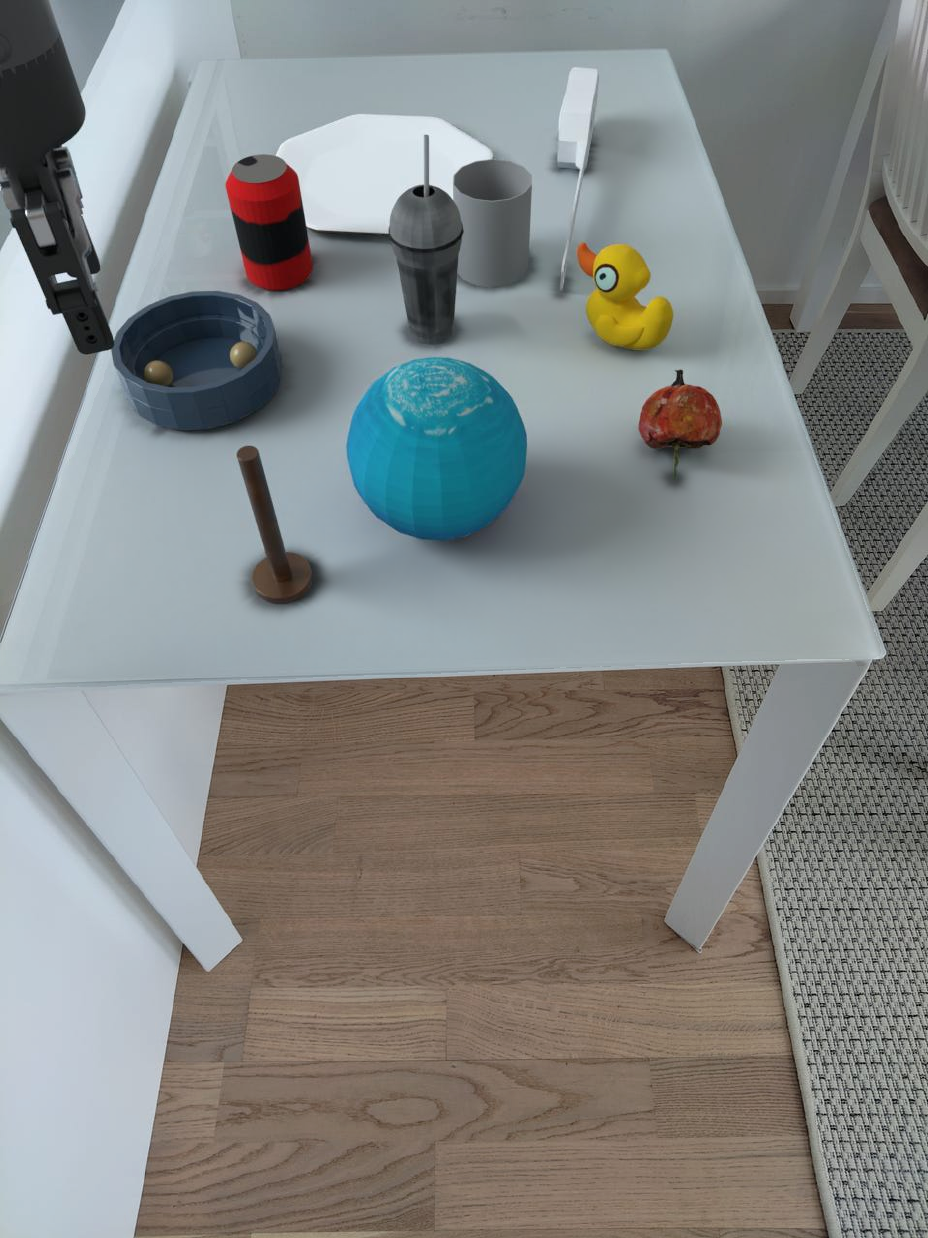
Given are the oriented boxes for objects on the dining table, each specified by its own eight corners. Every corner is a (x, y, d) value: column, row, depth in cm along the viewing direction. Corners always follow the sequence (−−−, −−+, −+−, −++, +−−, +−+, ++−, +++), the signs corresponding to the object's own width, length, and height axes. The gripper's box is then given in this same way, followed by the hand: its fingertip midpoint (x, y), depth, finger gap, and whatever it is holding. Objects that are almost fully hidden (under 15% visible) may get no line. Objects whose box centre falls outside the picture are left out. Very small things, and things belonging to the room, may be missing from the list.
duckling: (557, 330, 97) (563, 243, 89) (586, 305, 100) (595, 219, 92) (648, 373, 93) (664, 286, 85) (676, 346, 95) (694, 259, 87)
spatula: (524, 307, 104) (560, 311, 103) (526, 245, 97) (564, 249, 96) (564, 115, 123) (595, 117, 122) (568, 52, 116) (601, 54, 115)
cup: (439, 268, 104) (436, 182, 96) (485, 236, 108) (486, 151, 100) (497, 296, 101) (499, 210, 93) (543, 262, 105) (548, 176, 96)
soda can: (285, 245, 107) (266, 141, 98) (327, 271, 104) (311, 167, 95) (233, 272, 104) (207, 168, 95) (273, 300, 101) (251, 196, 91)
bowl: (138, 450, 88) (121, 408, 84) (120, 351, 96) (103, 309, 92) (298, 412, 90) (289, 370, 86) (266, 320, 99) (257, 277, 95)
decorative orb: (356, 458, 87) (336, 323, 74) (515, 448, 87) (520, 312, 75) (357, 583, 78) (334, 453, 66) (533, 571, 78) (542, 440, 66)
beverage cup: (386, 343, 97) (366, 153, 80) (414, 303, 100) (400, 115, 84) (450, 359, 95) (442, 169, 79) (476, 318, 99) (474, 129, 83)
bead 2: (236, 378, 93) (229, 356, 90) (231, 361, 94) (224, 339, 92) (263, 372, 93) (257, 349, 91) (258, 356, 95) (252, 333, 92)
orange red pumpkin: (712, 489, 86) (729, 383, 86) (712, 477, 79) (730, 362, 79) (633, 480, 88) (649, 377, 88) (626, 468, 81) (643, 356, 81)
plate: (245, 236, 109) (242, 224, 107) (297, 121, 125) (295, 110, 123) (477, 248, 106) (477, 236, 105) (499, 130, 122) (500, 118, 121)
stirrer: (260, 610, 76) (218, 484, 64) (249, 566, 79) (207, 438, 67) (319, 594, 77) (288, 467, 65) (305, 551, 80) (274, 422, 68)
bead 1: (150, 398, 91) (141, 375, 89) (146, 380, 93) (138, 357, 91) (178, 391, 92) (170, 369, 89) (174, 374, 93) (166, 351, 91)
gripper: (-95, -8, 50) (26, 261, 63) (-100, 112, 42) (39, 391, 55) (47, -28, 51) (136, 239, 64) (67, 84, 43) (164, 363, 56)
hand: (91, 309), depth 60 cm, fingers open, 8 cm apart
